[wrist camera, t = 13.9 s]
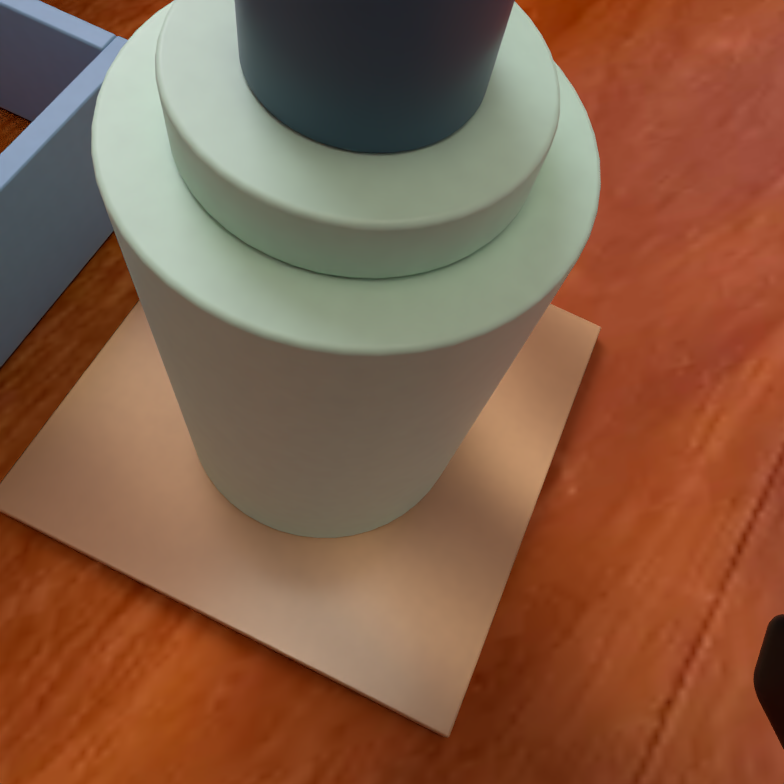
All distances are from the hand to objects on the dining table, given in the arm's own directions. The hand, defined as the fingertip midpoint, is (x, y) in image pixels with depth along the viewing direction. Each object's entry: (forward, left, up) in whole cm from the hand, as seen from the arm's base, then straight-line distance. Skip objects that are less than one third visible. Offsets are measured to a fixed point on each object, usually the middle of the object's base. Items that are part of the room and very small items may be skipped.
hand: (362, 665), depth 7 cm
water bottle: (+6, +3, -8) cm, 10 cm away
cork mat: (+6, +3, -8) cm, 10 cm away
